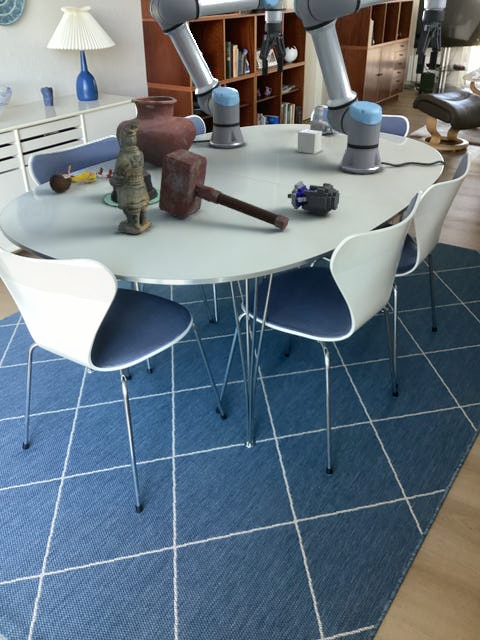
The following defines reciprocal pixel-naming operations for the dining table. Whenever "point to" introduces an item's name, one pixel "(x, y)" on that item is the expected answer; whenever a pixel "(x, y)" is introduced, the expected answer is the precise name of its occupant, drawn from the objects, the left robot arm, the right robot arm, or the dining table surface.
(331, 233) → the dining table surface
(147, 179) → the chocolate cake
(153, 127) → the clay pot
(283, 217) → the sledgehammer
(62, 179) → the figurine
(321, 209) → the toy
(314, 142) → the brick
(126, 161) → the statue
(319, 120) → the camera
